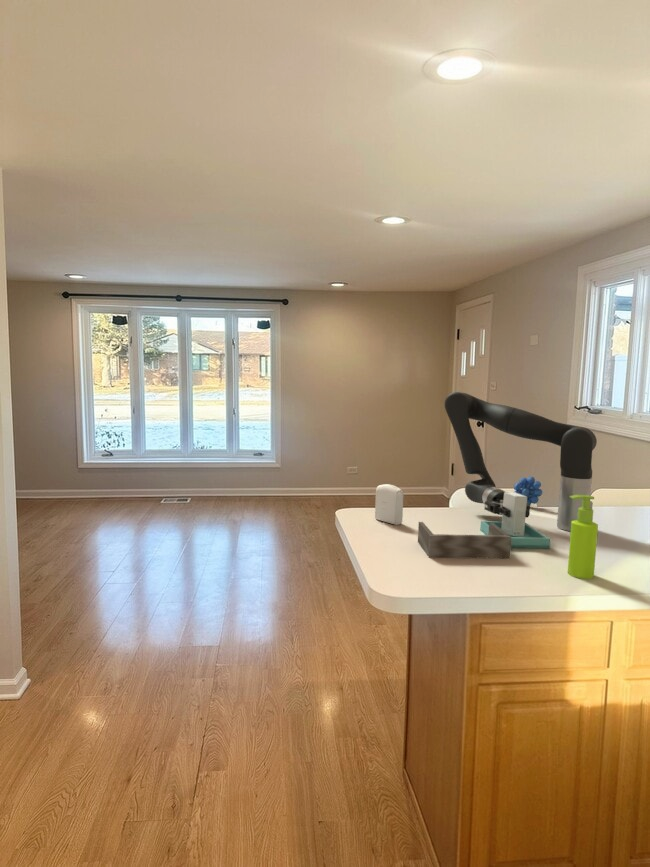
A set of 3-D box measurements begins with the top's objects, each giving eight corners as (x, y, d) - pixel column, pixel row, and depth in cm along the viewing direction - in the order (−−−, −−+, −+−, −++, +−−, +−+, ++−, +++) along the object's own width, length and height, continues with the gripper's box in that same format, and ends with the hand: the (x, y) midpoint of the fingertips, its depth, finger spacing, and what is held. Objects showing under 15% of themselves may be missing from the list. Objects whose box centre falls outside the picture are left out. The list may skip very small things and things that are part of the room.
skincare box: (524, 536, 159) (529, 496, 158) (511, 536, 158) (516, 496, 157) (512, 530, 165) (516, 492, 164) (499, 530, 164) (503, 491, 163)
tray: (523, 531, 171) (524, 521, 170) (549, 548, 153) (550, 538, 153) (480, 530, 170) (480, 521, 170) (501, 548, 152) (502, 538, 152)
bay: (491, 542, 157) (493, 523, 156) (509, 558, 144) (511, 536, 143) (417, 541, 156) (418, 521, 155) (428, 557, 142) (430, 535, 142)
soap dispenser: (559, 570, 135) (564, 492, 133) (585, 570, 136) (591, 493, 134) (571, 579, 130) (578, 498, 128) (598, 578, 130) (605, 498, 128)
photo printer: (372, 519, 180) (374, 482, 179) (381, 517, 183) (383, 481, 182) (395, 526, 172) (396, 488, 171) (404, 524, 175) (405, 486, 174)
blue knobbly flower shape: (546, 508, 203) (548, 477, 202) (537, 510, 199) (540, 479, 198) (517, 502, 212) (519, 472, 211) (508, 504, 207) (510, 474, 206)
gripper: (476, 488, 174) (495, 501, 157) (519, 489, 175) (543, 502, 158) (475, 511, 175) (493, 526, 158) (518, 511, 176) (541, 526, 159)
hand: (518, 514), depth 158 cm, fingers closed on skincare box, 5 cm apart
